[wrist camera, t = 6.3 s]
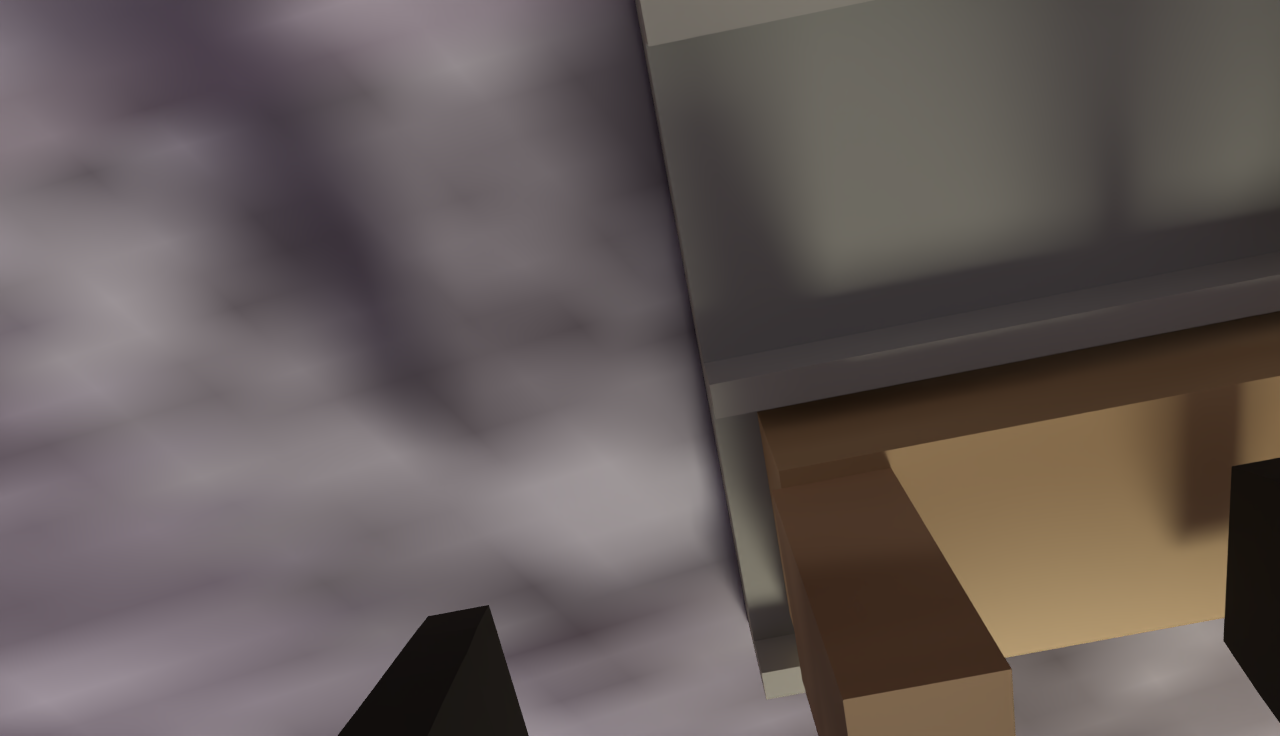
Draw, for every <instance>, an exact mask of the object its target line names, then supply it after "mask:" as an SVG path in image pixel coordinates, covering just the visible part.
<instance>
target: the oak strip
mask: <svg viewBox="0 0 1280 736" xmlns="http://www.w3.org/2000/svg"><path fill="white" fill-rule="evenodd" d="M757 415H758V421H759V427H760V433H761V439H762V446H763V452H764V458H765V464H766V470H767V476H768V483H769V489H770V495H771V501H772V507H773V513H774V520H775V526H776V532H777V538H778V544H779V550H780V557H781V563H782V569H783V575H784V581H785V587H786V594H787V600H788V606H789V612H790V616H791V620H792V623H793V626H794V632H795V638H796V644H797V651H798V657H799V663H800V669H801V676H802V681H803V684H804V688H805V691H806V695H807V698H808V701H809V705H810V708H811V712H812V715H813V719H814V722H815V725H816V729H817V732H818V736H1015V719H1014V701H1013V684H1012V669H1011V667H1010V666H1009V664H1008V662H1007V661H1006V659H1005V658H1006V657H1012V656H1017V655H1023V654H1028V653H1034V652H1039V651H1044V650H1050V649H1055V648H1061V647H1066V646H1072V645H1077V644H1083V643H1088V642H1094V641H1099V640H1105V639H1110V638H1116V637H1121V636H1127V635H1132V634H1138V633H1143V632H1149V631H1154V630H1160V629H1165V628H1171V627H1176V626H1182V625H1187V624H1193V623H1198V622H1204V621H1209V620H1215V619H1220V618H1225V598H1226V577H1227V555H1228V534H1229V512H1230V490H1231V469H1232V466H1237V465H1242V464H1247V463H1253V462H1258V461H1263V460H1269V459H1274V458H1279V457H1280V311H1278V312H1273V313H1268V314H1262V315H1257V316H1252V317H1247V318H1242V319H1237V320H1231V321H1226V322H1221V323H1216V324H1211V325H1205V326H1200V327H1195V328H1190V329H1185V330H1179V331H1174V332H1169V333H1164V334H1159V335H1153V336H1148V337H1143V338H1138V339H1133V340H1128V341H1122V342H1117V343H1112V344H1107V345H1102V346H1096V347H1091V348H1086V349H1081V350H1076V351H1070V352H1065V353H1060V354H1055V355H1050V356H1044V357H1039V358H1034V359H1029V360H1024V361H1019V362H1013V363H1008V364H1003V365H998V366H993V367H987V368H982V369H977V370H972V371H967V372H961V373H956V374H951V375H946V376H941V377H935V378H930V379H925V380H920V381H915V382H910V383H904V384H899V385H894V386H889V387H884V388H878V389H873V390H868V391H863V392H858V393H852V394H847V395H842V396H837V397H832V398H826V399H821V400H816V401H811V402H806V403H801V404H795V405H790V406H785V407H780V408H775V409H769V410H764V411H759V412H757Z"/></svg>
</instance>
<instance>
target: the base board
mask: <svg viewBox="0 0 1280 736" xmlns="http://www.w3.org/2000/svg"><path fill="white" fill-rule="evenodd" d="M635 3H636V8H637V14H638V19H639V25H640V30H641V36H642V41H643V47H644V52H645V58H646V63H647V69H648V74H649V80H650V85H651V91H652V96H653V102H654V107H655V113H656V118H657V123H658V129H659V134H660V140H661V145H662V151H663V156H664V162H665V167H666V173H667V178H668V184H669V189H670V195H671V200H672V206H673V211H674V217H675V222H676V228H677V233H678V238H679V244H680V249H681V255H682V260H683V266H684V271H685V277H686V282H687V288H688V293H689V299H690V304H691V310H692V315H693V321H694V326H695V332H696V337H697V343H698V348H699V353H700V359H701V364H702V370H703V375H704V381H705V386H706V392H707V397H708V403H709V408H710V414H711V419H712V425H713V430H714V436H715V441H716V447H717V452H718V458H719V463H720V468H721V474H722V479H723V485H724V490H725V496H726V501H727V507H728V512H729V518H730V523H731V529H732V534H733V540H734V545H735V551H736V556H737V562H738V567H739V573H740V578H741V583H742V589H743V594H744V600H745V605H746V611H747V616H748V622H749V627H750V631H751V636H752V640H753V644H754V649H755V653H756V657H757V661H758V666H759V670H760V674H761V678H762V683H763V687H764V691H765V695H766V700H767V699H773V698H778V697H784V696H789V695H795V694H800V693H806V691H805V688H804V684H803V681H802V676H801V669H800V663H799V657H798V651H797V644H796V638H795V632H794V626H793V623H792V620H791V616H790V612H789V606H788V600H787V594H786V587H785V581H784V575H783V569H782V563H781V557H780V550H779V544H778V538H777V532H776V526H775V520H774V513H773V507H772V501H771V495H770V489H769V483H768V476H767V470H766V464H765V458H764V452H763V446H762V439H761V433H760V427H759V421H758V415H757V412H759V411H764V410H769V409H775V408H780V407H785V406H790V405H795V404H801V403H806V402H811V401H816V400H821V399H826V398H832V397H837V396H842V395H847V394H852V393H858V392H863V391H868V390H873V389H878V388H884V387H889V386H894V385H899V384H904V383H910V382H915V381H920V380H925V379H930V378H935V377H941V376H946V375H951V374H956V373H961V372H967V371H972V370H977V369H982V368H987V367H993V366H998V365H1003V364H1008V363H1013V362H1019V361H1024V360H1029V359H1034V358H1039V357H1044V356H1050V355H1055V354H1060V353H1065V352H1070V351H1076V350H1081V349H1086V348H1091V347H1096V346H1102V345H1107V344H1112V343H1117V342H1122V341H1128V340H1133V339H1138V338H1143V337H1148V336H1153V335H1159V334H1164V333H1169V332H1174V331H1179V330H1185V329H1190V328H1195V327H1200V326H1205V325H1211V324H1216V323H1221V322H1226V321H1231V320H1237V319H1242V318H1247V317H1252V316H1257V315H1262V314H1268V313H1273V312H1278V311H1280V0H635Z"/></svg>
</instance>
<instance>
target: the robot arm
mask: <svg viewBox="0 0 1280 736" xmlns="http://www.w3.org/2000/svg"><path fill="white" fill-rule="evenodd" d="M1224 642H1225V644H1226V645H1227V647H1228V648H1229V650H1230V651H1231V653H1232V654H1233V656H1234V657H1235V659H1236V660H1237V662H1238V663H1239V665H1240V666H1241V668H1242V669H1243V671H1244V672H1245V674H1246V675H1247V677H1248V678H1249V680H1250V681H1251V683H1252V684H1253V686H1254V687H1255V689H1256V690H1257V692H1258V693H1259V694H1260V696H1261V697H1262V699H1263V700H1264V701H1265V703H1266V704H1267V706H1268V707H1269V708H1270V710H1271V711H1272V713H1273V714H1274V715H1275V717H1276V718H1277V719H1278V721H1279V722H1280V457H1279V458H1274V459H1269V460H1263V461H1258V462H1253V463H1247V464H1242V465H1237V466H1232V469H1231V490H1230V512H1229V534H1228V555H1227V577H1226V598H1225V620H1224ZM338 736H529V735H528V732H527V729H526V726H525V722H524V719H523V716H522V712H521V709H520V706H519V703H518V699H517V696H516V693H515V689H514V686H513V683H512V680H511V676H510V673H509V670H508V667H507V663H506V660H505V657H504V653H503V650H502V647H501V644H500V640H499V637H498V634H497V630H496V627H495V624H494V621H493V617H492V614H491V611H490V608H489V605H487V606H481V607H476V608H470V609H465V610H460V611H454V612H449V613H444V614H438V615H433V616H428V617H427V618H426V620H425V621H424V622H423V623H422V625H421V626H420V627H419V628H418V630H417V631H416V632H415V634H414V635H413V636H412V638H411V639H410V640H409V642H408V643H407V644H406V646H405V647H404V648H403V650H402V651H401V652H400V654H399V655H398V656H397V658H396V659H395V660H394V662H393V663H392V664H391V666H390V667H389V668H388V670H387V671H386V672H385V674H384V675H383V676H382V678H381V679H380V680H379V682H378V683H377V685H376V686H375V687H374V689H373V690H372V691H371V693H370V694H369V695H368V697H367V698H366V699H365V701H364V702H363V703H362V705H361V706H360V707H359V709H358V710H357V711H356V712H355V714H354V715H353V716H352V718H351V719H350V720H349V722H348V723H347V724H346V725H345V727H344V728H343V729H342V731H341V732H340V733H339V734H338Z"/></svg>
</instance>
